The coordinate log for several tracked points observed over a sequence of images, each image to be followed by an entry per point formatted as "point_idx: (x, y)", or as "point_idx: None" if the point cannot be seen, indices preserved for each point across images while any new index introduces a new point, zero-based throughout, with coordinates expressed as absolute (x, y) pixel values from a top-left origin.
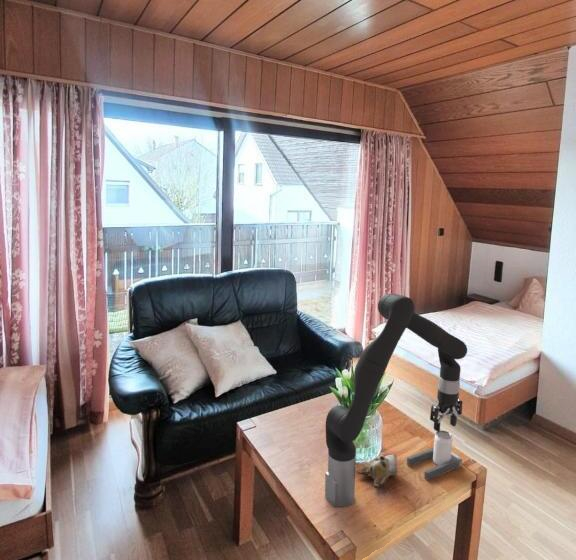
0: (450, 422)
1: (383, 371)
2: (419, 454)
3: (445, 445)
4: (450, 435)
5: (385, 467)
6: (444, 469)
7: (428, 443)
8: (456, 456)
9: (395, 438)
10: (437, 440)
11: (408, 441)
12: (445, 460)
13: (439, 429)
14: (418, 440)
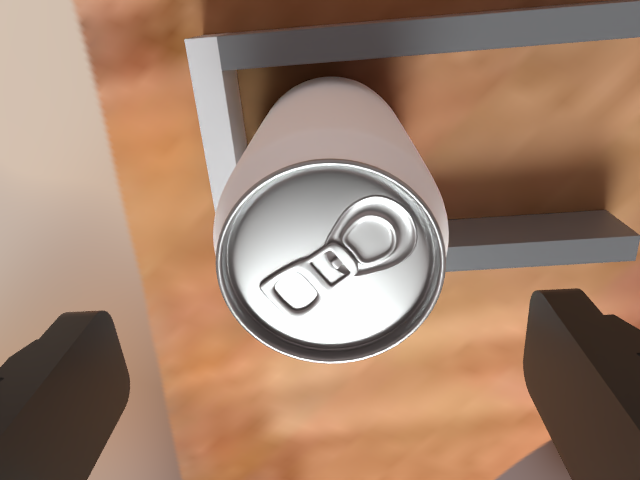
0: (116, 412)
1: None
2: (506, 253)
3: (390, 131)
4: (232, 226)
5: None
6: (428, 17)
7: (259, 355)
8: (211, 95)
9: (430, 466)
10: (448, 236)
11: (375, 417)
12: (360, 89)
13: (569, 311)
14: (302, 402)
